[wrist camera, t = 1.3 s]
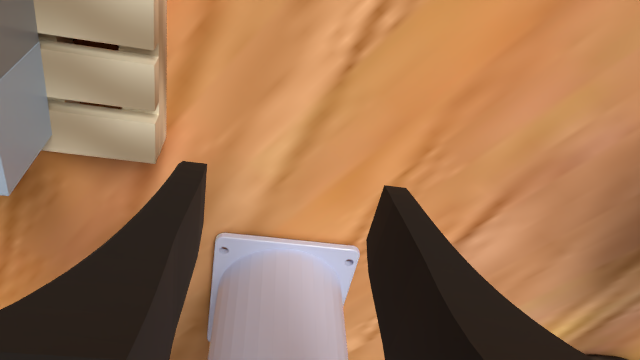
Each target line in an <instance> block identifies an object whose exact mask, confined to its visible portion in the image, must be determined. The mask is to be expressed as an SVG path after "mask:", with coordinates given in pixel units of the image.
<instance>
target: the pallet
mask: <svg viewBox="0 0 640 360" xmlns="http://www.w3.org/2000/svg"><path fill="white" fill-rule="evenodd" d="M33 2H34V9H35V16H36V24H37V31H38V38H39V42H40V48H41V57H42V64H43V71H44V78H45V86H46V93H47V100H48V107H49V115H50V122H51V130H52V135H51V137H50V138H49V140H48V141H47V143H46V144H45V145H44V147H43V148H42V150H43V151H52V152H60V153H68V154H77V155H85V156H93V157H102V158H110V159H118V160H127V161H135V162H144V163H152V164H156V161H157V158H158V155H160V152H161V149H162V146H163V144H164V141H165V138H166V66H167V0H33ZM73 38H75V39H82V40H88V41H95V42H101V43H108V44H114V45H118V47H119V51H117V50H110V49H104V48H97V47H90V46H84V45H77V44H73ZM79 101H80V102H88V103H95V104H103V105H110V106H118V107H122V109H114V108H107V107H99V106H92V105H84V104H80V102H79Z"/></svg>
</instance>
